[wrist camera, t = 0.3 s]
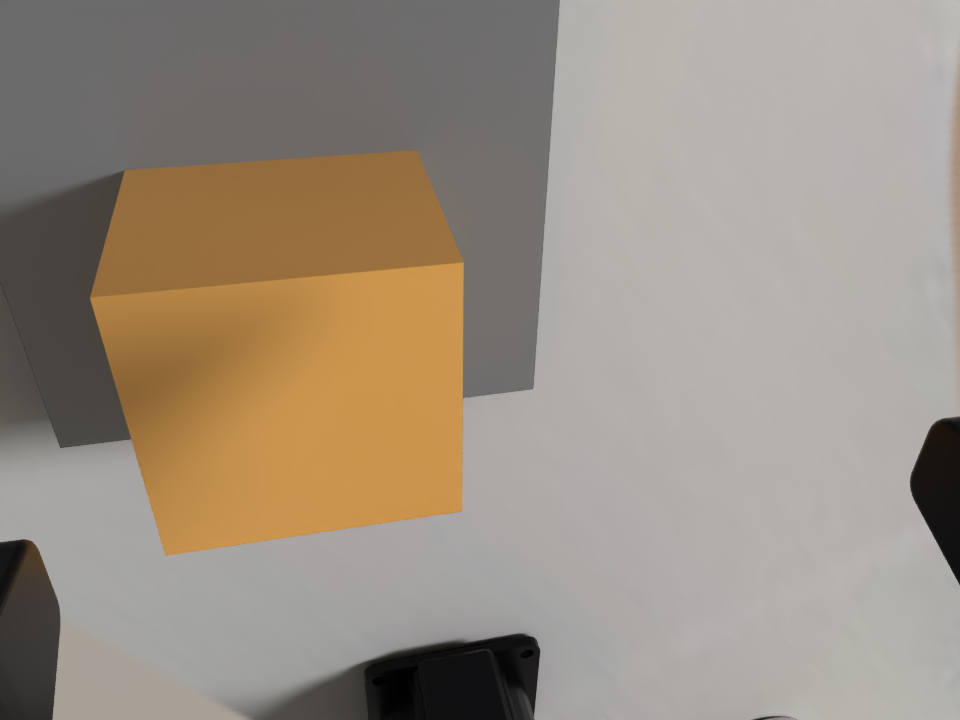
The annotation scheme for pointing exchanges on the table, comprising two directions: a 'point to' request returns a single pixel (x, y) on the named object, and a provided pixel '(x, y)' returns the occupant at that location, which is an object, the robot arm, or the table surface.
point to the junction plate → (266, 148)
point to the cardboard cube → (286, 345)
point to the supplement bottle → (780, 718)
